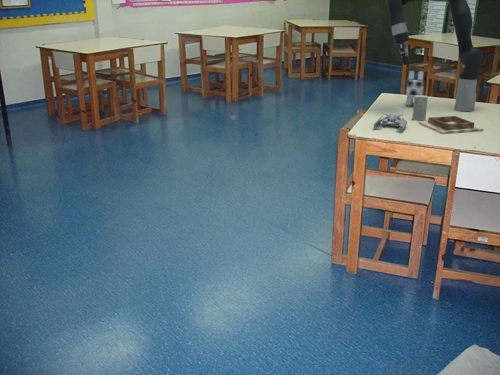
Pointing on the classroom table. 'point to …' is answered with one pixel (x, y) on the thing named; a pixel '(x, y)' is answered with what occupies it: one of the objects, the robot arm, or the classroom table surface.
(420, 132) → the classroom table surface
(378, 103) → the classroom table surface
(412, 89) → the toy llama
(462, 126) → the holder
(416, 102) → the skincare box
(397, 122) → the spaceship toy
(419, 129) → the classroom table surface
